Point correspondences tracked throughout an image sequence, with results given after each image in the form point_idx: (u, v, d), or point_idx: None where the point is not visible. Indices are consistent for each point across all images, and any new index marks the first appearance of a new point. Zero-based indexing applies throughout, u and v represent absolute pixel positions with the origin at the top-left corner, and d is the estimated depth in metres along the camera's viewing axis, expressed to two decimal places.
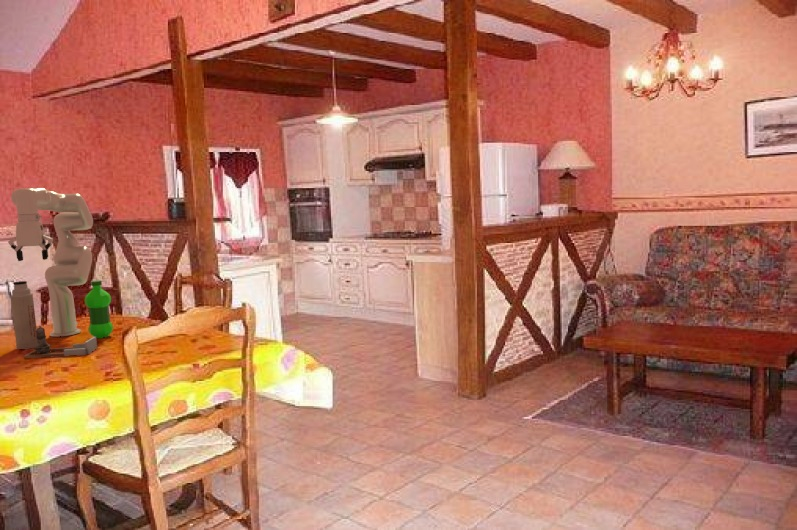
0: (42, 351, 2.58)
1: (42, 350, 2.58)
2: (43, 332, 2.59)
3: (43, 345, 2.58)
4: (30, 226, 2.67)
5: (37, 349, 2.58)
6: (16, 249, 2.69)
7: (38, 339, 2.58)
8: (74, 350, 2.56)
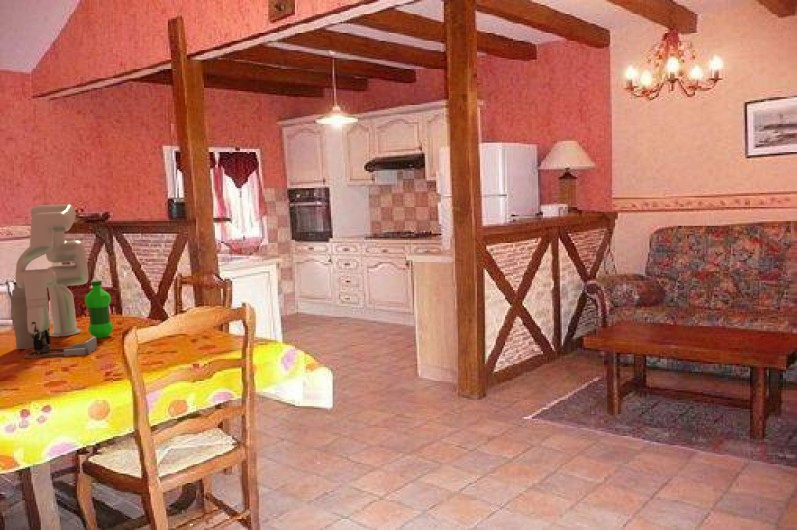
0: (42, 351, 2.58)
1: (42, 350, 2.58)
2: (43, 332, 2.59)
3: (43, 345, 2.58)
4: (46, 310, 2.60)
5: None
6: (40, 337, 2.56)
7: None
8: (74, 350, 2.56)
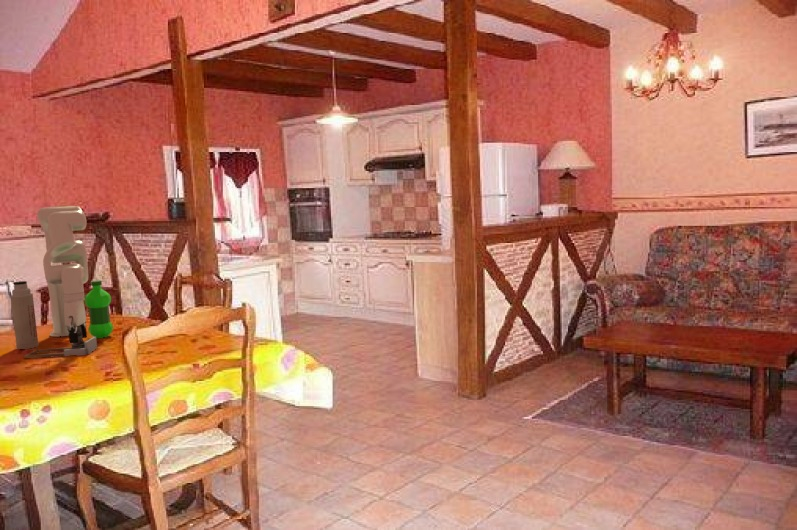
0: None
1: (79, 347, 2.59)
2: (80, 330, 2.60)
3: (80, 343, 2.60)
4: (82, 304, 2.61)
5: (74, 346, 2.59)
6: (75, 331, 2.56)
7: None
8: (74, 350, 2.56)
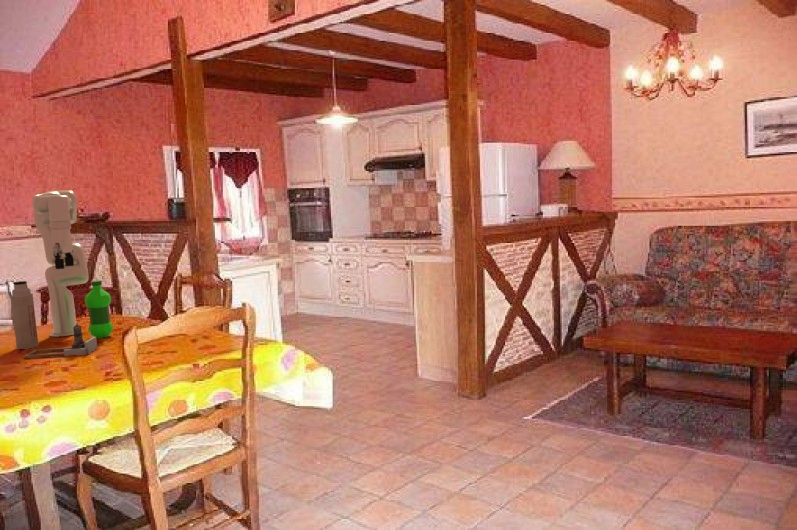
0: None
1: (78, 347, 2.59)
2: (80, 330, 2.60)
3: (80, 343, 2.60)
4: (69, 233, 2.69)
5: (74, 346, 2.59)
6: (61, 256, 2.63)
7: (75, 336, 2.60)
8: (74, 350, 2.56)
